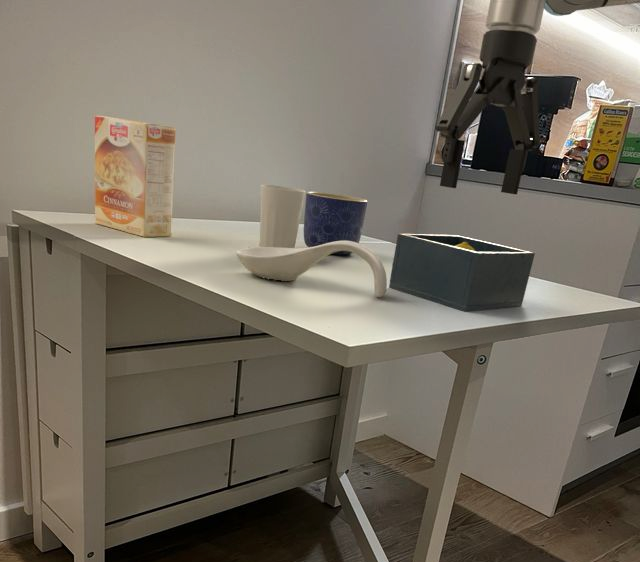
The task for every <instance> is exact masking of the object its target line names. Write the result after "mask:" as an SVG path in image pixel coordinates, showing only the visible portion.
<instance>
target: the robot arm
mask: <svg viewBox="0 0 640 562" xmlns="http://www.w3.org/2000/svg"><path fill="white" fill-rule="evenodd" d="M633 4H640V0H490V1H489V6H488V11H487V15H486V21H485V27H486V29H488V30H487V31H485V33H484V34H483V36H482V42H481V47H480V53H479V61H480V62H481V63H480V62H475V63H465V64H464V65H463V69H462V73H461V75H460V79H459V82H458V83H457V86H456V87H455V89H454V91H453V93H452V95H451V97H450V98H449V100H448V102H447V104H446V106H445V107H444V110H443V112H442V113H441V116H440V117H439V119H438V121H437V123H436V124H435V130H436V132H438V133H439V134H440V138H442V139H444V145H443V151H442V156H441V161H442V162H443V165H442V171H441V177H440V182H439V187H445V188H451V189H457V186H458V179H459V175H460V169H461V164H462V159H463V154H464V153H463V152H464V148H465V143H466V140H463V139H461V138H462V137H463V135H464V134H465V133H466V132H467V131H468V129H469V128H470V127H471V126H472V125H473V123H474V122H475V121H476V120H477V118H478V117H479V116H480V114H481V113H482V112H483V110H484V109H485V108H486V107H487V106H489V105H493V106H496V107H500V108H501V110H502V111H503V112H504V114H505V117H506V121H507V125H508V128H509V131H510V135H511V139H512V142H513V146H514V148H509V152H508V156H507V161H506V166H505V171H504V175H503V181H502V185H501V190H500V193H502V194H503V193H504V194H510V195H518V191H519V189H520V188H519V187H520V182H521V178H522V173H524V170H525V168H526V163H527V158H528V153H529V151H535V150H536V148H538V147H540V145H541V132H540V131H541V130H540V129H541V128H540V115H539V100H538V98H539V97H538V92H539V87H540V79H539V78H538V77H526V70H527V68H528V67H530V66H531V65H532V64H533V61H534V55H535V51H536V47H537V42H538V39H537V37H536V34H537V33H539V32H540V30H541V25H542V21H543V15H544V10H545V12H547V13H548V14H550V15H552V16H555V17H564V16H569V15H571V14H573V13H575V12H577V11H585V10H594V9H600V8H607V7H615V6H616V7H617V6H625V5H633ZM478 84H479V85H478Z"/></svg>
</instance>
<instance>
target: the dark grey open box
mask: <svg viewBox="0 0 640 562" xmlns="http://www.w3.org/2000/svg"><path fill="white" fill-rule="evenodd" d="M463 242H467V243H468V245H469V246H471V247H472V248H473V249H474V250H475V251H476V252H475V251H471V250H466V249H462V248H458V247H454V246H456V245H458V244H461V243H463ZM395 243H396V244H395V247H394V248H395V250H394V255H393V260H392V266H391V272H390V278H389V285H388V288H390V289H394V290H397V291H400V292H403V293H406V294H409V295H412V296H415V297H418V298H421V299H424V300H428V301H431V302H434V303H437V304H439V305H440V304H441V305H443V306H446V307H450V308H453V309H456V310H459V311H461V312H474V311H484V310H485V311H486V310H495V309H505V308H506V309H507V308H515V307H522V306H523V302H524V299H525V295H526V290H527V286H528V282H529V279H530V275H531V270H532V266H533V263H534V258H535V252H532V251H527V250H524V249H519V248H514V247H510V246H506V245H502V244H498V243H492V242H489V241H483V240H480V239H475V238H470V237H466V236H462V235H458V234H428V233H427V234H425V233H397V237H396V242H395Z"/></svg>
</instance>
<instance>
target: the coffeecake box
mask: <svg viewBox="0 0 640 562" xmlns="http://www.w3.org/2000/svg"><path fill="white" fill-rule="evenodd" d="M176 129H177V128H176V126H170V125H163V124H155V123H149V122H143V121H138V120H131V119H126V118H117V117H112V116H111V117H110V116H106V115H105V116H104V115H94V224H96V225H100V226H104V227H108V228H111V229H114V230H118V231H122V232H124V233H129V234H131V235H136V236H138V237H142V236H143V238H157V237H159V238H161V237H172V225H173V203H174V202H173V200H174V199H173V198H174V179H175V178H174V177H175V152H176V151H175V150H176V131H177V130H176Z"/></svg>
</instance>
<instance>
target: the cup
mask: <svg viewBox="0 0 640 562" xmlns="http://www.w3.org/2000/svg"><path fill="white" fill-rule="evenodd" d="M305 197H306V190H304V189H301V188H295V187H288V186H283V185H274V184H261V185H260V217H259V218H260V221H259V223H260V224H259V247H276V248H296V243H297V237H298V232H299V227H300V221H301V216H302V212H303V211H302V210H303V205H304V202H305V201H304V200H305Z"/></svg>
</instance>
